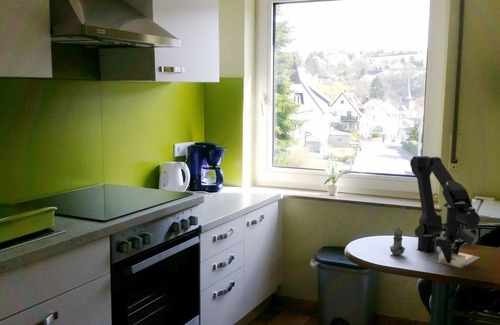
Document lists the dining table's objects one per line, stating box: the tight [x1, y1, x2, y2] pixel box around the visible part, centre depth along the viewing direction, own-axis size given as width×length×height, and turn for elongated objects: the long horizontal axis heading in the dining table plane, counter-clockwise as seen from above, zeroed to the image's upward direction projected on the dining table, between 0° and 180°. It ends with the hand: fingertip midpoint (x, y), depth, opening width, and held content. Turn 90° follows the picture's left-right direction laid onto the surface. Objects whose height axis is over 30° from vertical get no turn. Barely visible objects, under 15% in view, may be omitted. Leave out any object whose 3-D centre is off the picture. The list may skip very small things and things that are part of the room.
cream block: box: [438, 252, 465, 268], centre depth 196 cm, size 8×5×3 cm, turn 46°
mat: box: [424, 250, 481, 269], centre depth 202 cm, size 14×18×1 cm
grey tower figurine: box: [389, 226, 406, 257], centre depth 204 cm, size 6×6×12 cm
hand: (451, 261), depth 197 cm, fingers closed on cream block, 5 cm apart
